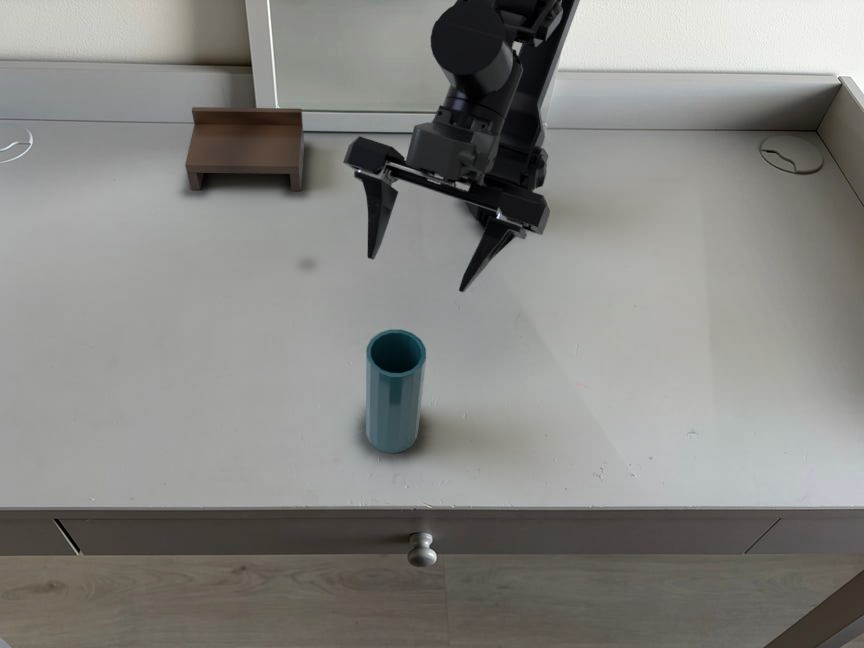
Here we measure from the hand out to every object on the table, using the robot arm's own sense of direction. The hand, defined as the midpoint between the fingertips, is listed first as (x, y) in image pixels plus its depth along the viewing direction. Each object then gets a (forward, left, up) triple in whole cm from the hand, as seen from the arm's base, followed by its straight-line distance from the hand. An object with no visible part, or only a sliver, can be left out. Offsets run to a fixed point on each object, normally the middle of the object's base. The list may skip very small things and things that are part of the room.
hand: (415, 275), depth 72 cm
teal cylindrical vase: (+5, +7, -14) cm, 16 cm away
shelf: (+7, -37, -14) cm, 40 cm away
